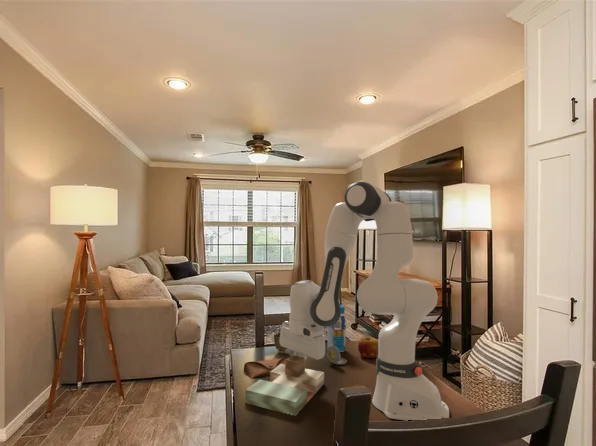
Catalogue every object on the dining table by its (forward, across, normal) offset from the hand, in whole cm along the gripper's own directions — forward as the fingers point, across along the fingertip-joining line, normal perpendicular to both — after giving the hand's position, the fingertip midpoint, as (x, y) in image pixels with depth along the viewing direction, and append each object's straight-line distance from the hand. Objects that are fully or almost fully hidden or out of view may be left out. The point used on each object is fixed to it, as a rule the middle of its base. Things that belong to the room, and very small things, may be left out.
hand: (300, 364), depth 124 cm
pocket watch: (+6, -2, +23) cm, 24 cm away
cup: (+6, -25, +14) cm, 29 cm away
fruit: (+6, +2, +40) cm, 40 cm away
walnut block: (+2, +1, -4) cm, 5 cm away
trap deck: (+6, +4, -10) cm, 12 cm away
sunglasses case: (+6, -13, -3) cm, 15 cm away
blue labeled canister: (+6, -12, +35) cm, 37 cm away
